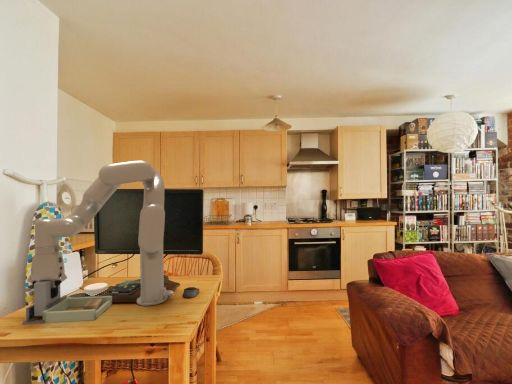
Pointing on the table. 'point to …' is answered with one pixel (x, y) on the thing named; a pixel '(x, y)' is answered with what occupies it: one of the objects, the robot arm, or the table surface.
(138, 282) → the disk drive
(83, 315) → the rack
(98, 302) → the offcut upper
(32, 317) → the stand
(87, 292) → the white fluted dish
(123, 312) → the table surface
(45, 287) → the sheet
